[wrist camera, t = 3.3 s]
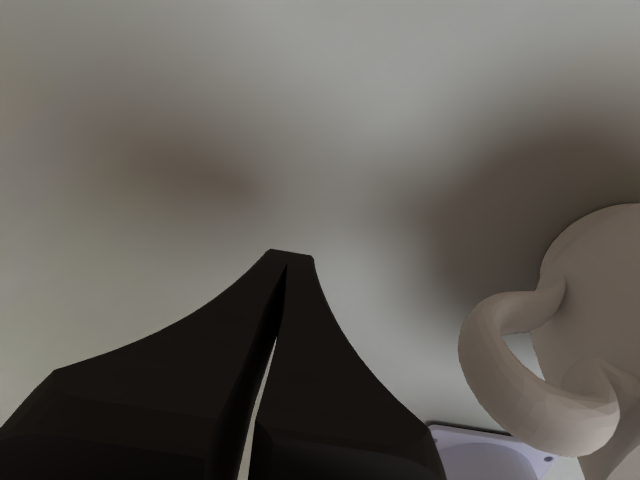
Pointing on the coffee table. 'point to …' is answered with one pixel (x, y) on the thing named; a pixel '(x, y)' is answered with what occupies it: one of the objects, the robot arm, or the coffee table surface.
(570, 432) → the teacup
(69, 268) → the coffee table surface
